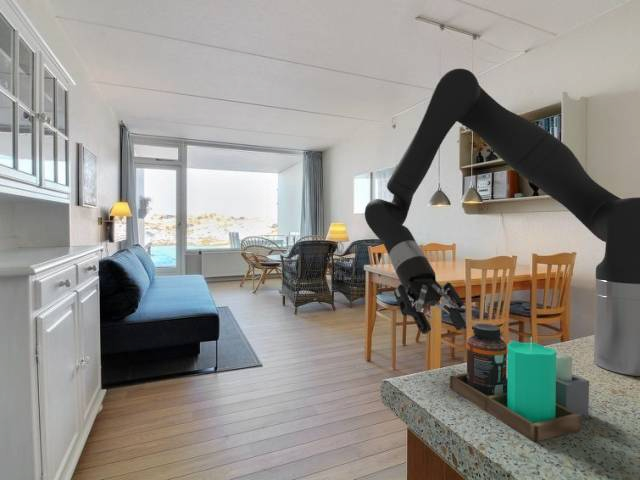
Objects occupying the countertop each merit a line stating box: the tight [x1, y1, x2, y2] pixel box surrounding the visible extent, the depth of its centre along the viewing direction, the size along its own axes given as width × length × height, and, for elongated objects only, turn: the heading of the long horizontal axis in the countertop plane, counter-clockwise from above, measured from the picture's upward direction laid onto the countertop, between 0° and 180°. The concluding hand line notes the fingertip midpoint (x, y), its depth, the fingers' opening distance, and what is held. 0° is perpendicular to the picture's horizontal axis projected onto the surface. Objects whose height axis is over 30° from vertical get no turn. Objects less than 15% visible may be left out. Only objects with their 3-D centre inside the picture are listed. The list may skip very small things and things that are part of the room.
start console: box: [556, 373, 590, 417], centre depth 53 cm, size 5×5×5 cm
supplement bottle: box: [466, 323, 508, 396], centre depth 57 cm, size 6×6×11 cm
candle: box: [506, 336, 557, 423], centre depth 50 cm, size 6×6×12 cm
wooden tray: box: [449, 373, 582, 443], centre depth 54 cm, size 8×16×2 cm, turn 18°
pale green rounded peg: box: [556, 353, 573, 382], centre depth 52 cm, size 2×2×6 cm
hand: (444, 330), depth 68 cm, fingers open, 8 cm apart
